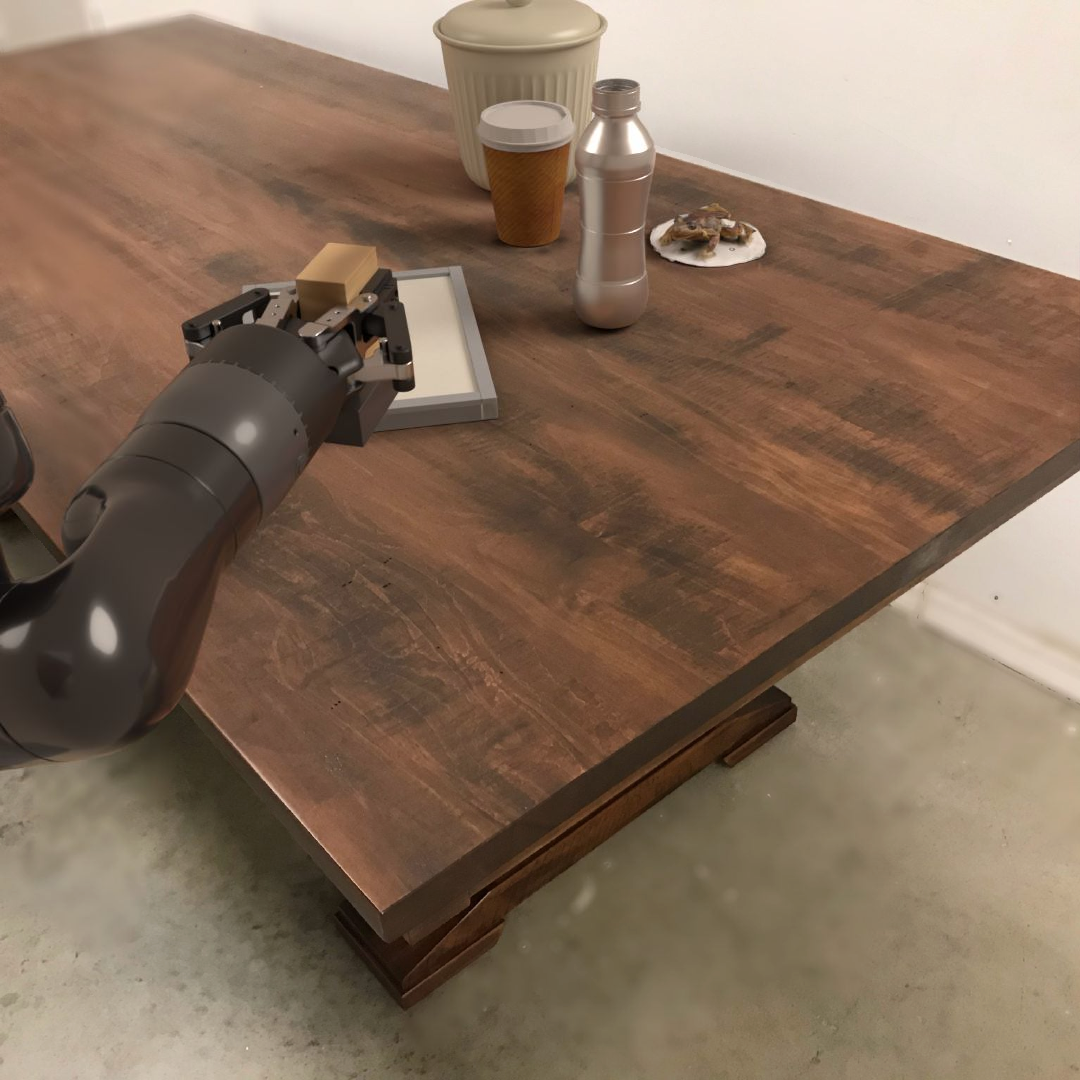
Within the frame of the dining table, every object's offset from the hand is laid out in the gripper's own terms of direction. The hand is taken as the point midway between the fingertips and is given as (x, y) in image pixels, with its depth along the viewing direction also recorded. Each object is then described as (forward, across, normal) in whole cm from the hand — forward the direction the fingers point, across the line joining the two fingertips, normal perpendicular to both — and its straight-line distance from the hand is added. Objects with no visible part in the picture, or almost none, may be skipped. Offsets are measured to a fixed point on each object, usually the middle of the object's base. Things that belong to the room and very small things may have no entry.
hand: (358, 280), depth 67 cm
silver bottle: (+29, -10, +17) cm, 35 cm away
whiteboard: (+19, +9, +17) cm, 27 cm away
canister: (+61, +5, +17) cm, 63 cm away
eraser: (-3, 0, +7) cm, 8 cm away
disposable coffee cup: (+46, +1, +17) cm, 49 cm away
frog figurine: (+47, -17, +17) cm, 53 cm away
